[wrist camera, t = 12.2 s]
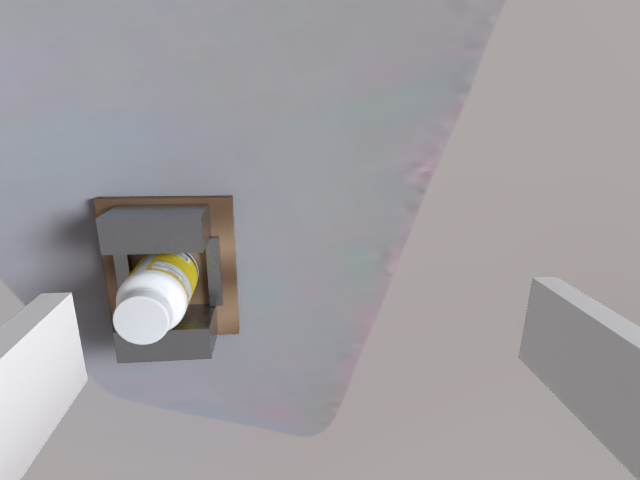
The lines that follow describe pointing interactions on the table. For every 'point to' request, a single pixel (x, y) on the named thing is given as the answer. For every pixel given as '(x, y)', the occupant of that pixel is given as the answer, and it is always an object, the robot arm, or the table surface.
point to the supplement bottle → (155, 297)
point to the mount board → (219, 227)
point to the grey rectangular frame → (165, 238)
